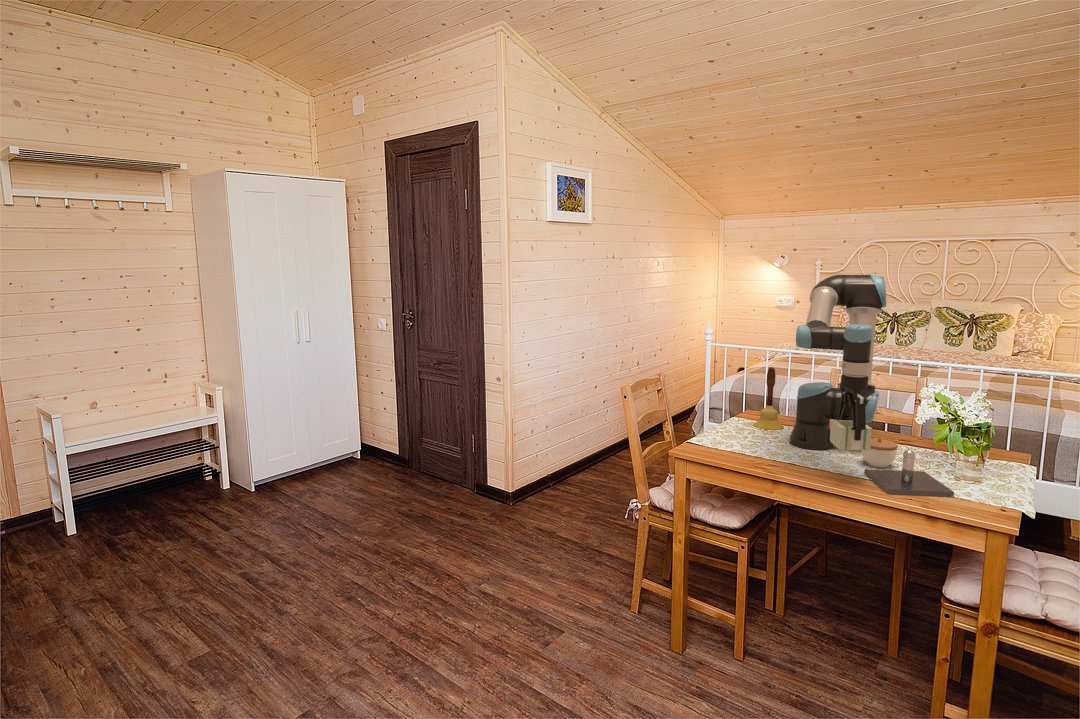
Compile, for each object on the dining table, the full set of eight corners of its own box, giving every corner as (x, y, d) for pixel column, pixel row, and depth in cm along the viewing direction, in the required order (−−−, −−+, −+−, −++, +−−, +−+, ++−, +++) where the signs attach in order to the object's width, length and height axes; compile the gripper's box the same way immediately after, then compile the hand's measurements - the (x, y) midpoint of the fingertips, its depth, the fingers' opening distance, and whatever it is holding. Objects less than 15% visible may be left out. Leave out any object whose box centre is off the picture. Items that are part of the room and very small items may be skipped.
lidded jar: (884, 459, 213) (886, 433, 212) (902, 470, 203) (905, 442, 201) (853, 459, 213) (855, 433, 212) (870, 470, 203) (872, 442, 201)
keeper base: (864, 473, 199) (866, 440, 197) (923, 475, 197) (926, 442, 195) (887, 494, 181) (891, 458, 180) (953, 496, 179) (957, 460, 177)
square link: (829, 440, 199) (831, 419, 198) (859, 441, 198) (860, 420, 196) (839, 449, 190) (841, 428, 189) (870, 450, 189) (872, 428, 188)
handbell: (748, 423, 262) (750, 365, 258) (776, 422, 263) (779, 365, 259) (760, 431, 250) (763, 370, 246) (789, 430, 250) (793, 370, 246)
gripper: (830, 368, 201) (825, 434, 205) (855, 382, 180) (849, 455, 184) (854, 368, 200) (849, 434, 204) (882, 382, 179) (876, 456, 183)
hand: (849, 444), depth 194 cm, fingers closed on square link, 9 cm apart
